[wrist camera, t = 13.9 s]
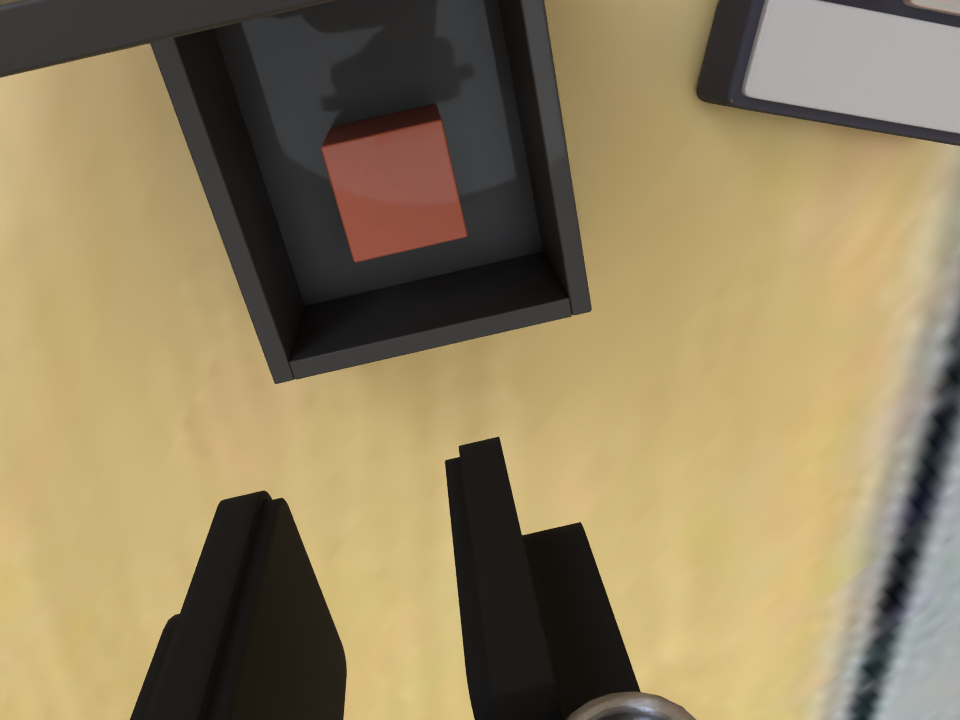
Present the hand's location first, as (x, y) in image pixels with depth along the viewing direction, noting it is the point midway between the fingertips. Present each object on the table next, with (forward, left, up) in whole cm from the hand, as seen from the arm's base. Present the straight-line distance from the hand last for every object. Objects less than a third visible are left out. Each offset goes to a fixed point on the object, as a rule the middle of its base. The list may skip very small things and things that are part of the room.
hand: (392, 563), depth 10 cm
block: (0, 0, -25) cm, 25 cm away
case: (-2, 0, -26) cm, 26 cm away
